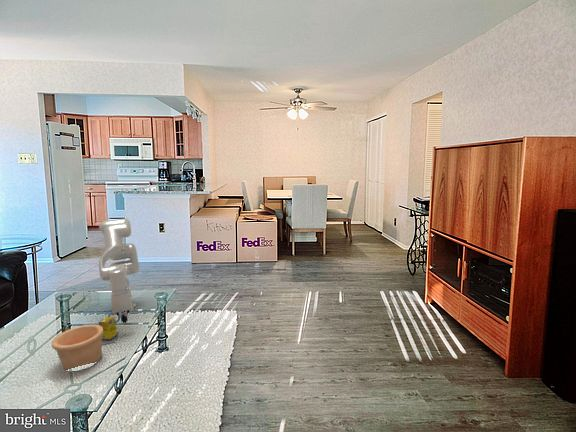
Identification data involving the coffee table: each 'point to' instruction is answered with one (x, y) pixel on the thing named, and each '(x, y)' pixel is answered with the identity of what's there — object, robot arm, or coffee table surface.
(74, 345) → the pottery
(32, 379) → the coffee table surface
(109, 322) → the supplement box
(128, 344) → the coffee table surface
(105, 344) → the mat
